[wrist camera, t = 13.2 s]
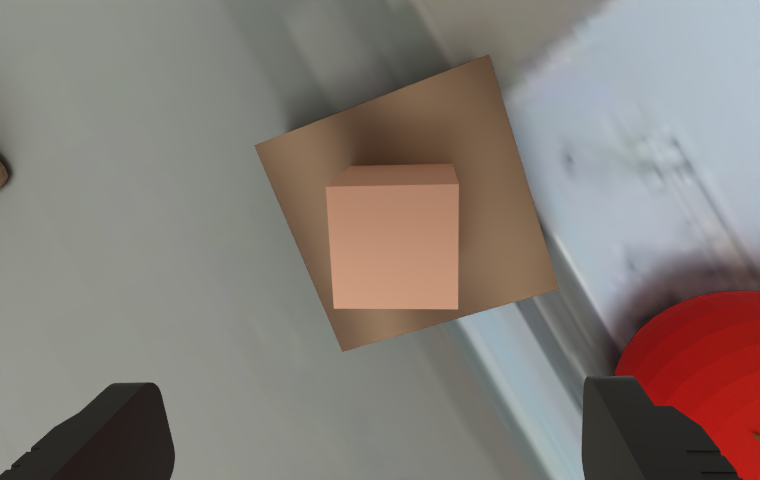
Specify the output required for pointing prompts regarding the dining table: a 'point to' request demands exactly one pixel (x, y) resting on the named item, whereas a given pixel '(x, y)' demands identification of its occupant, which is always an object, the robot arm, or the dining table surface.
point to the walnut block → (408, 147)
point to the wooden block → (3, 174)
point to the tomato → (706, 369)
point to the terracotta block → (394, 237)
